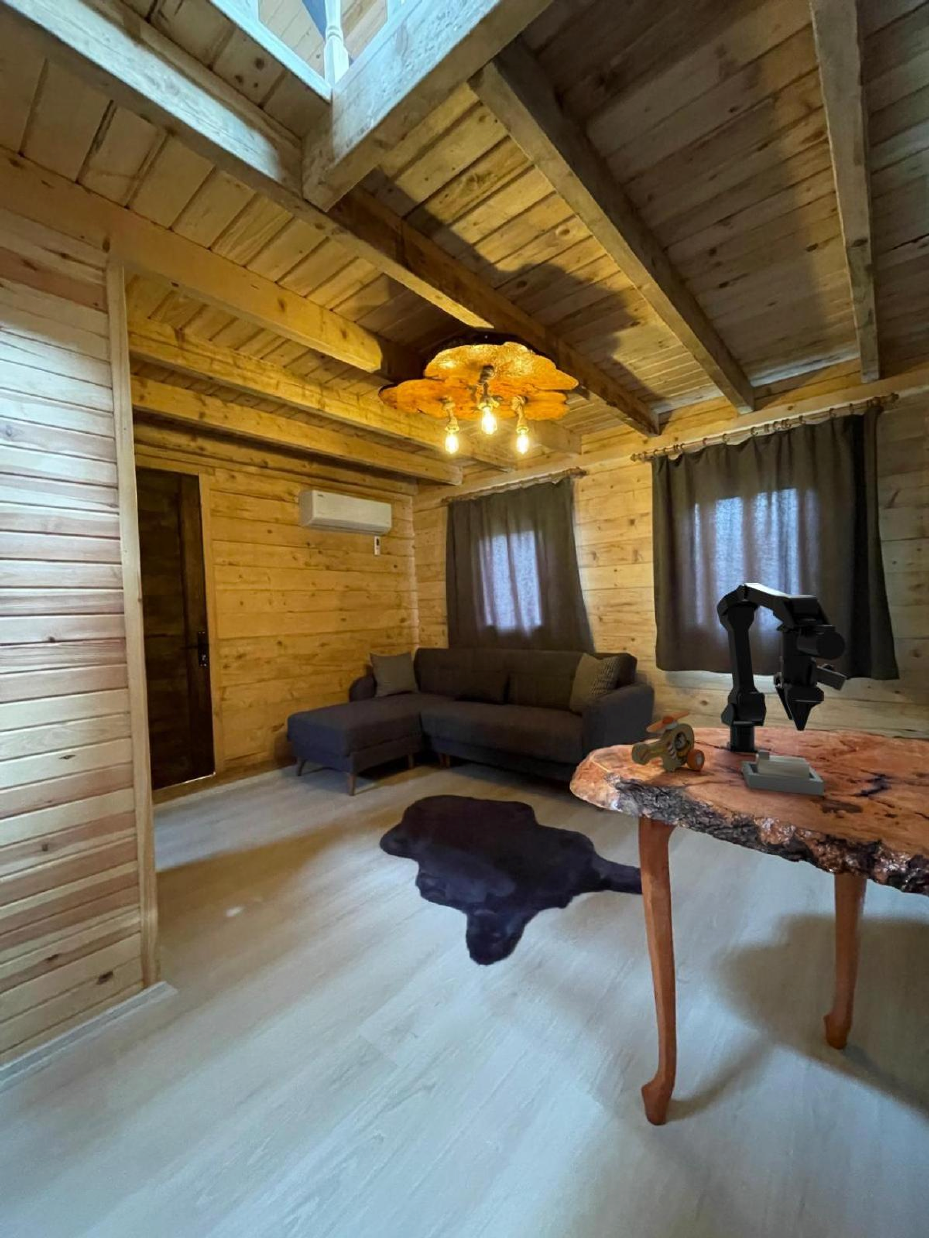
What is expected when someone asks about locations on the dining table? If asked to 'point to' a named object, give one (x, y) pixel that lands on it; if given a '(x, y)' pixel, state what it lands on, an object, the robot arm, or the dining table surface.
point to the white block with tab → (781, 765)
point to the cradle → (782, 781)
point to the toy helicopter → (671, 745)
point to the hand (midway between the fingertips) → (796, 725)
